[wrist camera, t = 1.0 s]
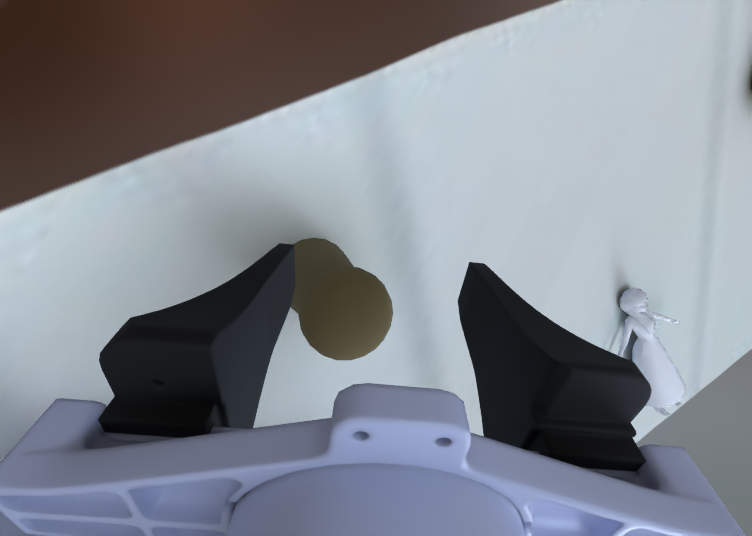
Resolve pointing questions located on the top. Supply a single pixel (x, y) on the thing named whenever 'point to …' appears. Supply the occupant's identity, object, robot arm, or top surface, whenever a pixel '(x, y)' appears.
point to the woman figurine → (651, 352)
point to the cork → (338, 302)
